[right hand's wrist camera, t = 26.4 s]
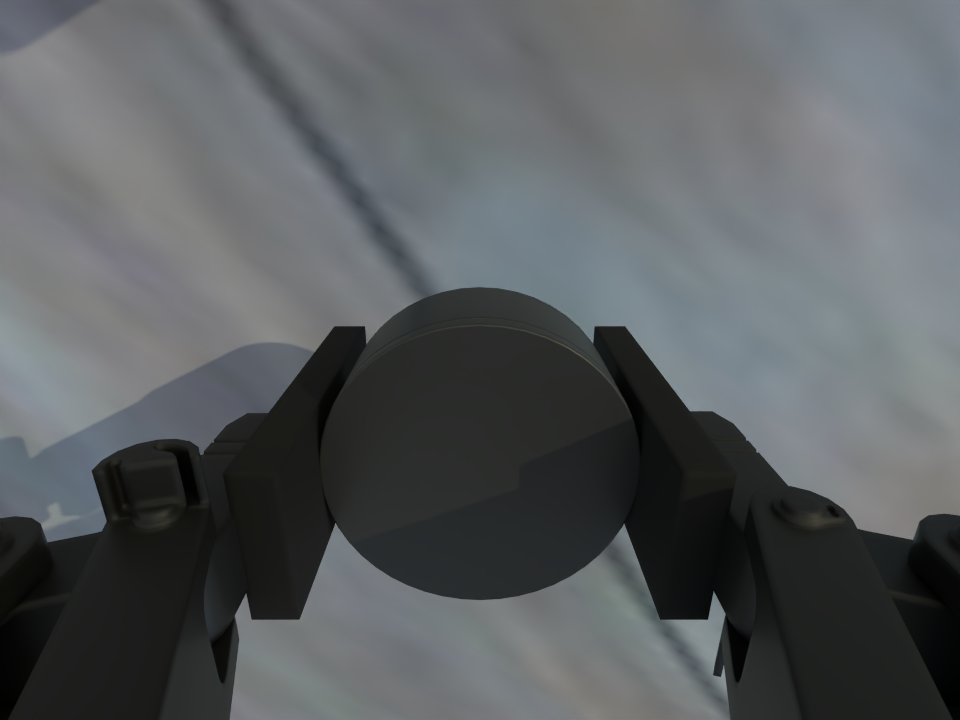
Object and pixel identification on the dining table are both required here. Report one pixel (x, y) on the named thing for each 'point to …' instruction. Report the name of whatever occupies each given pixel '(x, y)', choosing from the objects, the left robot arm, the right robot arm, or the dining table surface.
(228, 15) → the dining table surface
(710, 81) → the dining table surface
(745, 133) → the dining table surface
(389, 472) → the lid
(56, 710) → the right robot arm
